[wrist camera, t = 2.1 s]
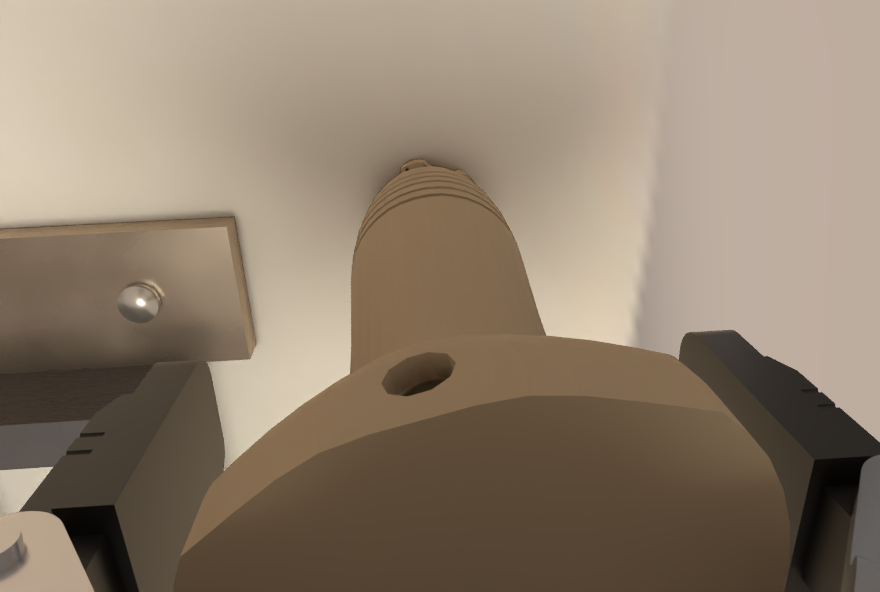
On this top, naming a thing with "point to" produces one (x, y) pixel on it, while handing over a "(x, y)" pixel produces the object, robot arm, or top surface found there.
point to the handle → (487, 443)
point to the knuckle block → (108, 320)
